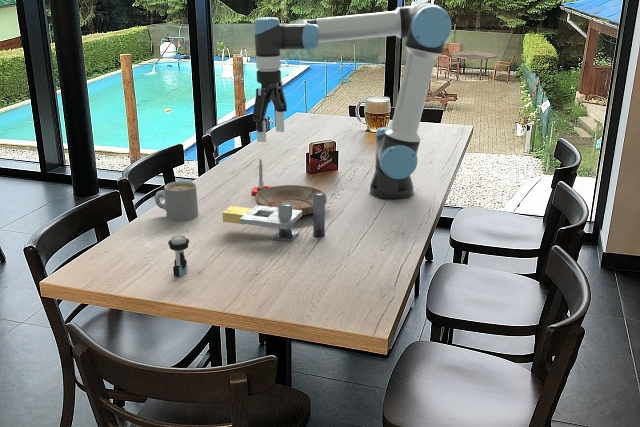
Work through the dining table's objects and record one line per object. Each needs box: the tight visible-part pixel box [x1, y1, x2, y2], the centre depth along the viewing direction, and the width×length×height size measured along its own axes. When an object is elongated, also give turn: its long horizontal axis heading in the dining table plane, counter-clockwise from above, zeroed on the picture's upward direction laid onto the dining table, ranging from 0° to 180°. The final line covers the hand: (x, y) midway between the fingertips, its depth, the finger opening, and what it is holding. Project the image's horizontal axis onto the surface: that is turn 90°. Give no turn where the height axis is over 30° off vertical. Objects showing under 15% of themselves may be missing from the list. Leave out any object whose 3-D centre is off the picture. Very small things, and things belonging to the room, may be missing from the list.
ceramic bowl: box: [254, 184, 328, 216], centre depth 225 cm, size 23×24×5 cm
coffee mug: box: [154, 180, 199, 222], centre depth 220 cm, size 13×10×10 cm
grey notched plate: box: [222, 203, 303, 243], centre depth 205 cm, size 22×12×10 cm, turn 71°
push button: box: [167, 234, 190, 277], centre depth 180 cm, size 7×5×10 cm
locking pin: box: [312, 192, 326, 238], centre depth 202 cm, size 3×3×13 cm
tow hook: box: [251, 158, 273, 196], centre depth 241 cm, size 8×13×9 cm
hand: (271, 136), depth 220 cm, fingers open, 13 cm apart
